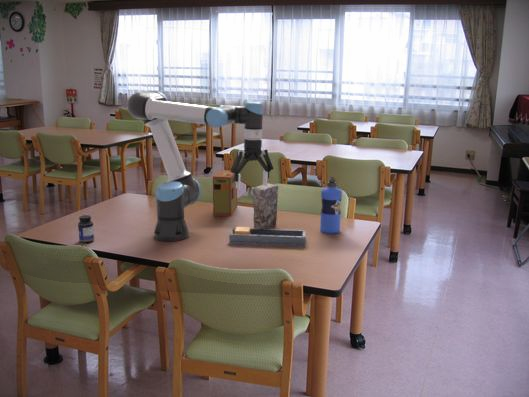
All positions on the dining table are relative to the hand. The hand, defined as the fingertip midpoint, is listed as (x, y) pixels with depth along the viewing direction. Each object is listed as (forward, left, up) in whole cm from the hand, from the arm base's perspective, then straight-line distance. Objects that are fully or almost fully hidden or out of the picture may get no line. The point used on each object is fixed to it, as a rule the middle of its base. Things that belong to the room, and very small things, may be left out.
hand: (251, 187), depth 233 cm
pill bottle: (-69, -16, -22) cm, 74 cm away
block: (-3, -7, -21) cm, 22 cm away
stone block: (+5, +13, -22) cm, 26 cm away
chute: (+8, -7, -22) cm, 24 cm away
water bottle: (+35, +11, -22) cm, 43 cm away
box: (-18, +38, -22) cm, 47 cm away
